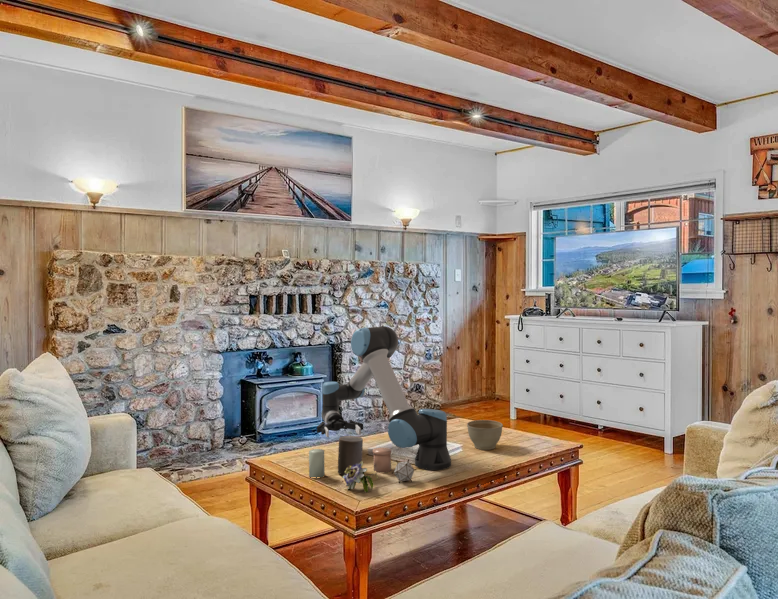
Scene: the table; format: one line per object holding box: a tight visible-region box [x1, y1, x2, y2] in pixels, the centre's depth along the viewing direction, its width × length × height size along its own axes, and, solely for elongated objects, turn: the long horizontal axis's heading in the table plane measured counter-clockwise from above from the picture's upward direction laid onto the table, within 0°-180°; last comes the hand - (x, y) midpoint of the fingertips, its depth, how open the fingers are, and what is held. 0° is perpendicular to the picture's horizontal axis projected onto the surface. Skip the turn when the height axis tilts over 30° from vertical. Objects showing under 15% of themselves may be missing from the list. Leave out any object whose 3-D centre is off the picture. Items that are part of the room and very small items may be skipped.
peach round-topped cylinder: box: [372, 447, 393, 473], centre depth 245 cm, size 8×8×8 cm
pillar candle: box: [337, 434, 364, 476], centre depth 242 cm, size 10×10×15 cm
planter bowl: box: [466, 419, 503, 451], centre depth 277 cm, size 16×16×11 cm
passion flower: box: [341, 460, 379, 493], centre depth 224 cm, size 11×11×12 cm
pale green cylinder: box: [308, 448, 326, 478], centre depth 238 cm, size 6×6×10 cm
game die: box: [391, 459, 417, 484], centre depth 231 cm, size 9×8×10 cm
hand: (343, 432), depth 251 cm, fingers open, 13 cm apart
